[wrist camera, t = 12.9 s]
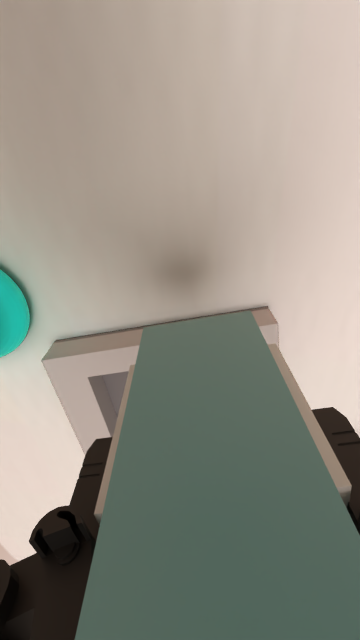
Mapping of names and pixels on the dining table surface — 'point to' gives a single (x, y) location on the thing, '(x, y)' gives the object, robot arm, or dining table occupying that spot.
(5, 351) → the donuts
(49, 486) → the dining table surface
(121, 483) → the green rectangular box
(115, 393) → the socket plate
